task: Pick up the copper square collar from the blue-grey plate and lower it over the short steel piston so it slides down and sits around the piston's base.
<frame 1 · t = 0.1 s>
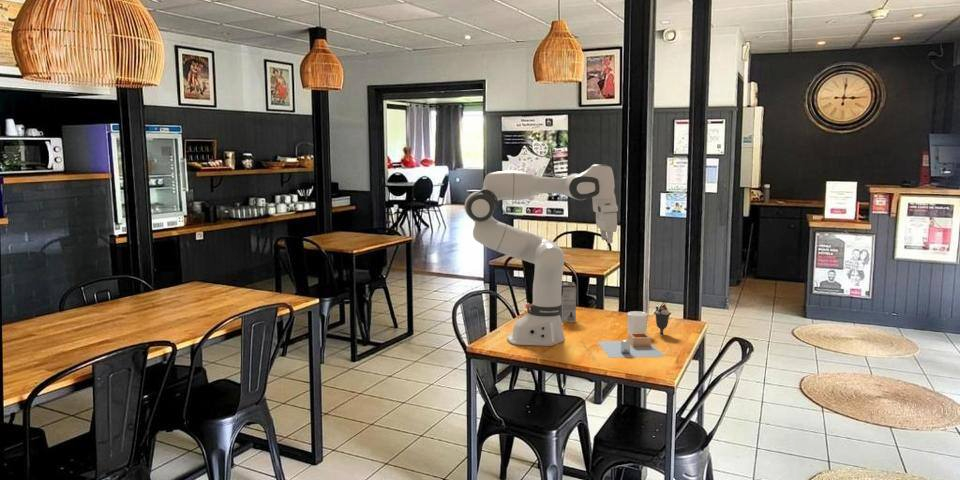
hand: (607, 241, 257), 39 cm above the table, tool pointing down, fingers open, 8 cm apart
piston: (625, 357, 238), resting on plate
sundae: (661, 338, 263), on the table
collar: (639, 344, 248), point 1 cm above the table, touching plate
coffee box: (567, 319, 292), on the table
plate: (629, 352, 243), on the table
white cup: (636, 338, 262), on the table
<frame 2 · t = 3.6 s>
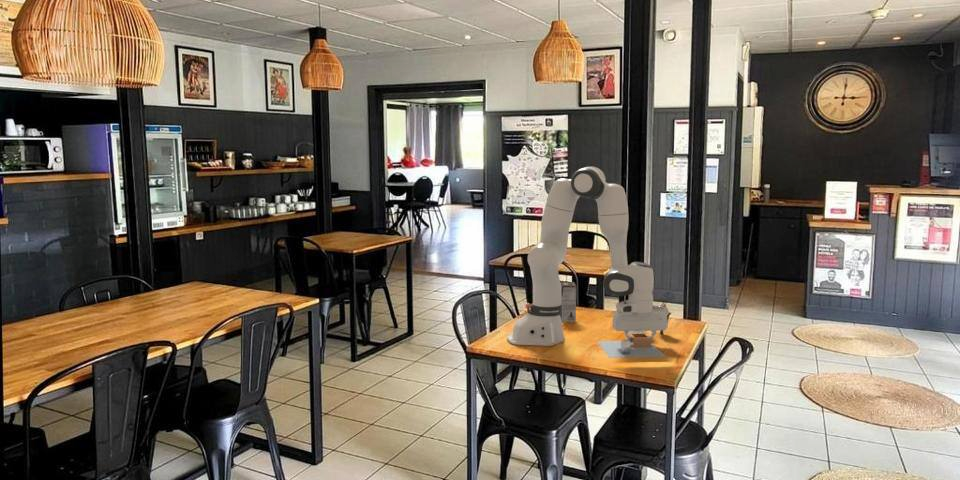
hand: (639, 341, 248), 3 cm above the table, tool pointing down, fingers closed on collar, 7 cm apart
collar: (639, 344, 248), point 2 cm above the table, touching gripper, plate
everything else where it was.
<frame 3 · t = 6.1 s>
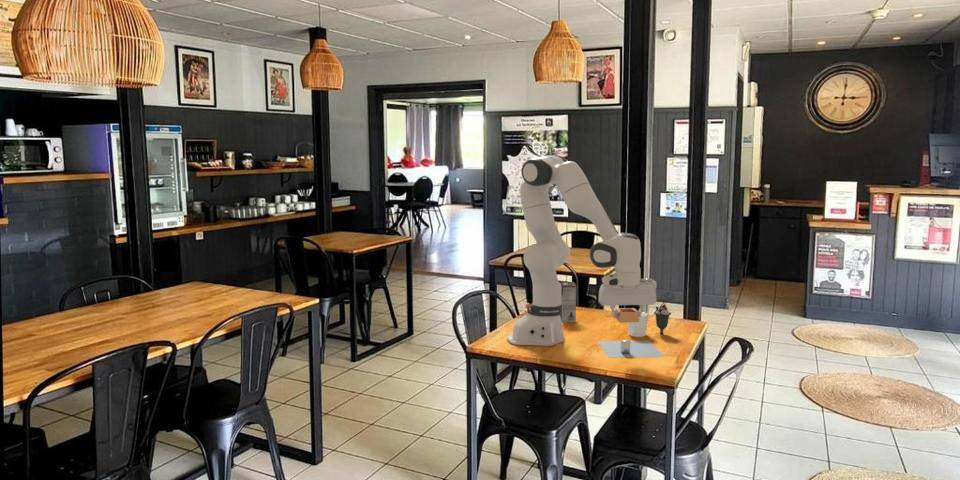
hand: (627, 317, 236), 15 cm above the table, tool pointing down, fingers closed on collar, 7 cm apart
collar: (627, 320, 236), point 14 cm above the table, touching gripper
everything else where it was.
when the fingers open (4 cm above the table, at t = 8.4 s): collar drops 1 cm, resting on plate.
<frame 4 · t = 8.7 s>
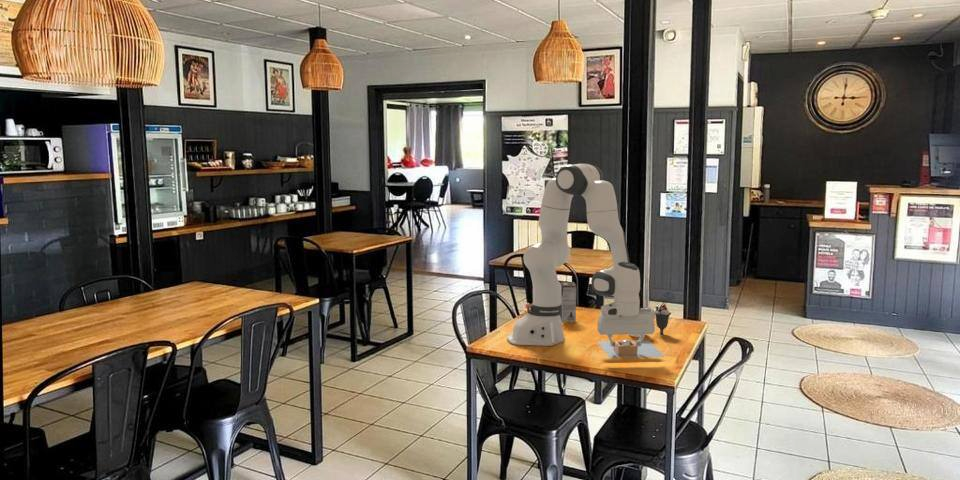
hand: (625, 345, 237), 4 cm above the table, tool pointing down, fingers open, 8 cm apart
collar: (625, 352, 238), point 1 cm above the table, touching plate
everything else where it was.
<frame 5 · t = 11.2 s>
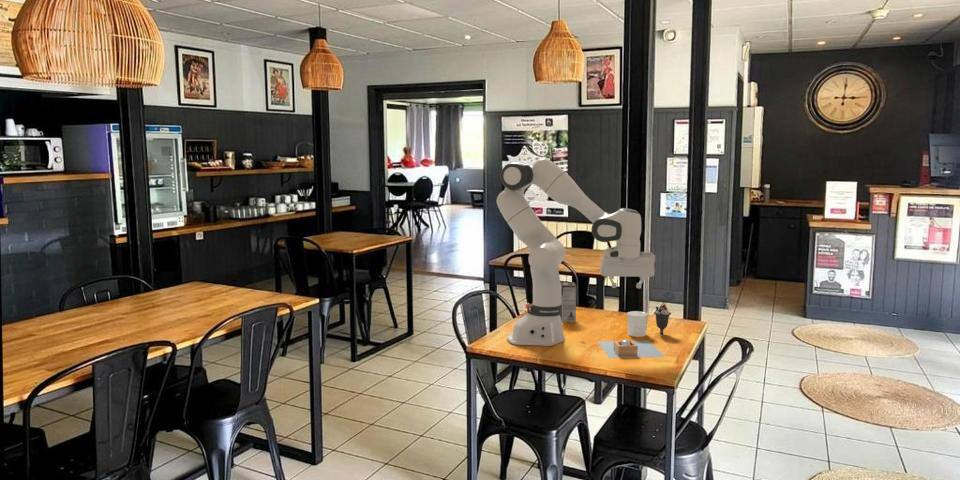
hand: (626, 287, 250), 22 cm above the table, tool pointing down, fingers open, 8 cm apart
nothing on the table moved.
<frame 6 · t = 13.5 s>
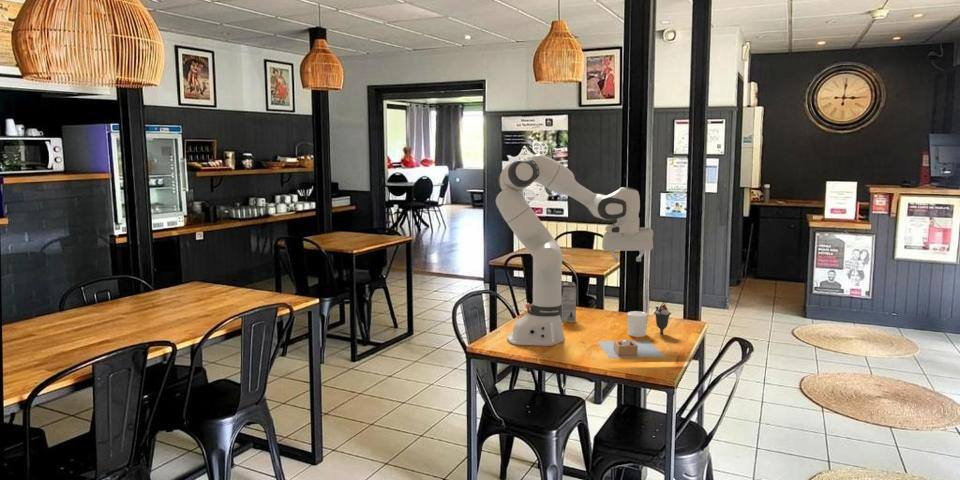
hand: (627, 261, 268), 29 cm above the table, tool pointing down, fingers open, 8 cm apart
nothing on the table moved.
at the end: collar 0.1 cm from the piston (horizontally); collar point 1.5 cm above the table; the gripper is holding nothing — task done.
